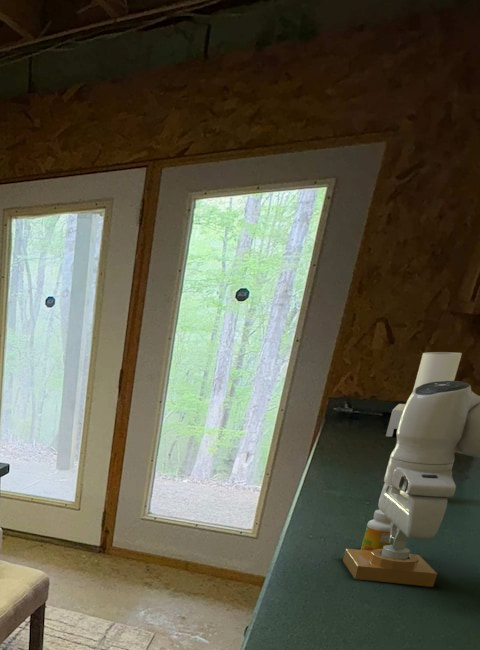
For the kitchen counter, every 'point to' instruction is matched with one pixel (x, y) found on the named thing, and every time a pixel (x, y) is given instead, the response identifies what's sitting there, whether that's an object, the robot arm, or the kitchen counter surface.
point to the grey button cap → (395, 553)
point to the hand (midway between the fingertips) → (396, 546)
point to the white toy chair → (429, 378)
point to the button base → (389, 568)
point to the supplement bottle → (377, 532)
